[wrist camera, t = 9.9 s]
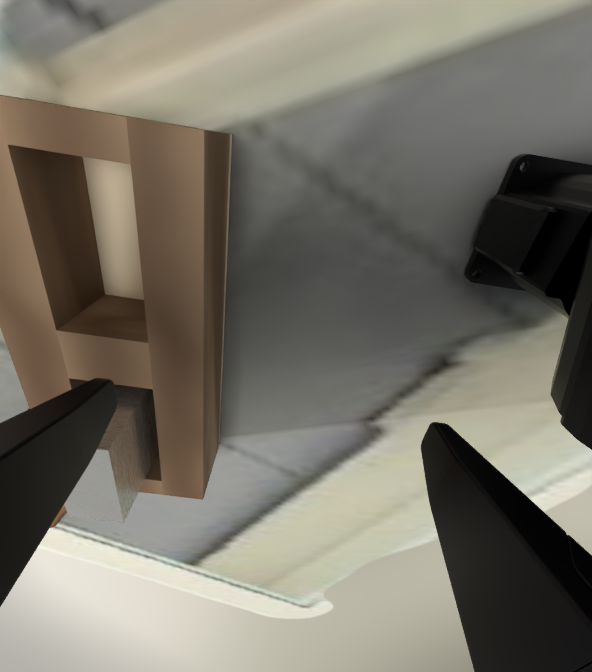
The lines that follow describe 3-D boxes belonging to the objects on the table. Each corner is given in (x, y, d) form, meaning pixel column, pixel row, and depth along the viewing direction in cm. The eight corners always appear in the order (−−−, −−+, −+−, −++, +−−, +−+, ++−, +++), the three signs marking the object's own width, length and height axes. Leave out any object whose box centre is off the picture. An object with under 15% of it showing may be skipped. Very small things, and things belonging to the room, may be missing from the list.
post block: (232, 134, 16) (204, 130, 12) (219, 442, 27) (203, 499, 23) (21, 98, 15) (-89, 80, 11) (96, 427, 27) (56, 482, 22)
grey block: (170, 355, 22) (108, 450, 15) (173, 419, 25) (123, 522, 18) (125, 348, 22) (42, 442, 15) (134, 413, 25) (68, 516, 18)
